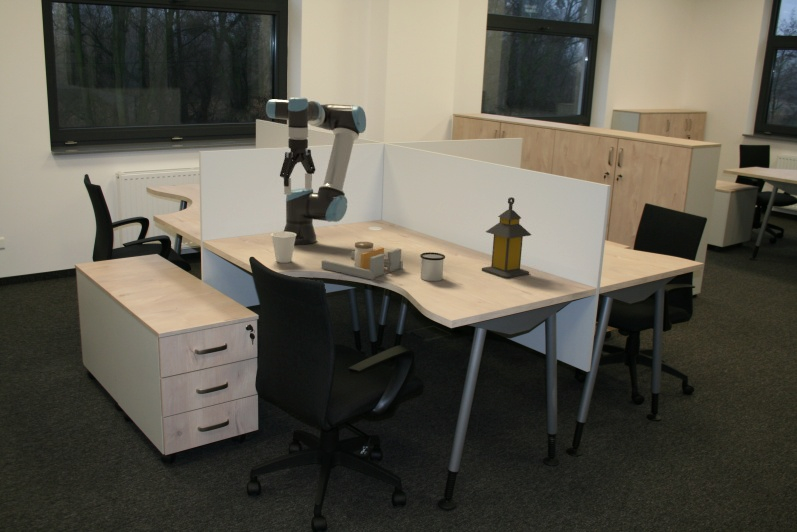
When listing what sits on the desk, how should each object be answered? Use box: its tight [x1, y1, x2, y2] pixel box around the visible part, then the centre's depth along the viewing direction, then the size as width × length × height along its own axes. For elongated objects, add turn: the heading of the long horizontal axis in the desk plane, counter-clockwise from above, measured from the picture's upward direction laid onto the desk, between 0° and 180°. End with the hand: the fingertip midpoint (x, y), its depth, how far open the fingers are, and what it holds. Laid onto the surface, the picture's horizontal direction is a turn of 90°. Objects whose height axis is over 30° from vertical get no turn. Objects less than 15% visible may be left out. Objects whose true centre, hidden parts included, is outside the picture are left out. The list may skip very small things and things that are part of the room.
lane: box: [321, 248, 404, 281], centre depth 291 cm, size 21×24×8 cm
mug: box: [419, 251, 446, 282], centre depth 283 cm, size 12×10×9 cm
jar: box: [353, 241, 374, 268], centre depth 291 cm, size 7×7×10 cm
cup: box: [270, 231, 296, 264], centre depth 297 cm, size 10×10×11 cm
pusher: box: [360, 247, 392, 270], centre depth 287 cm, size 14×9×7 cm, turn 147°
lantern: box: [481, 197, 532, 280], centre depth 292 cm, size 14×14×30 cm
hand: (298, 192), depth 296 cm, fingers open, 13 cm apart
